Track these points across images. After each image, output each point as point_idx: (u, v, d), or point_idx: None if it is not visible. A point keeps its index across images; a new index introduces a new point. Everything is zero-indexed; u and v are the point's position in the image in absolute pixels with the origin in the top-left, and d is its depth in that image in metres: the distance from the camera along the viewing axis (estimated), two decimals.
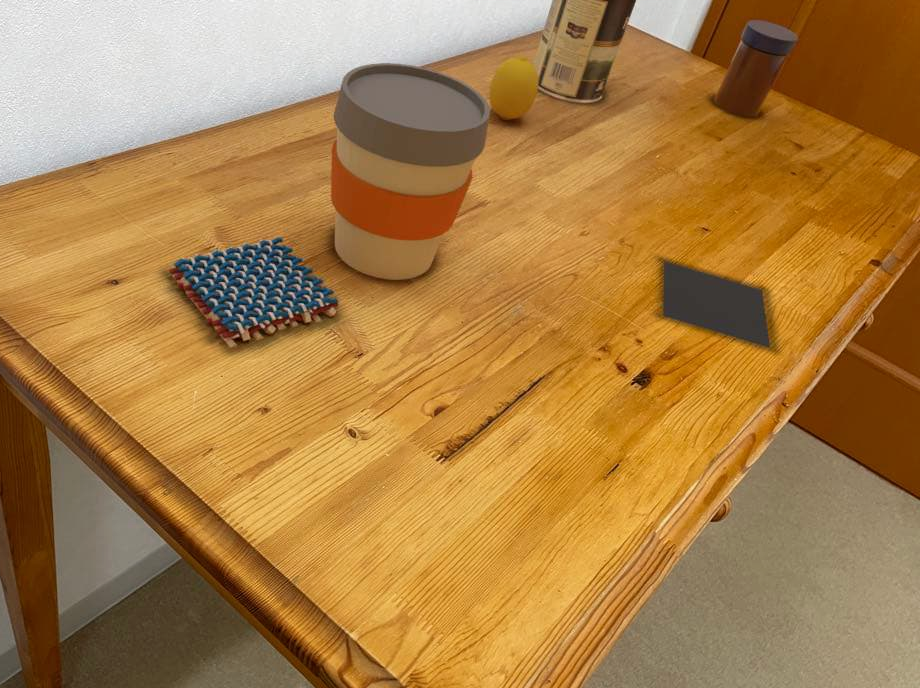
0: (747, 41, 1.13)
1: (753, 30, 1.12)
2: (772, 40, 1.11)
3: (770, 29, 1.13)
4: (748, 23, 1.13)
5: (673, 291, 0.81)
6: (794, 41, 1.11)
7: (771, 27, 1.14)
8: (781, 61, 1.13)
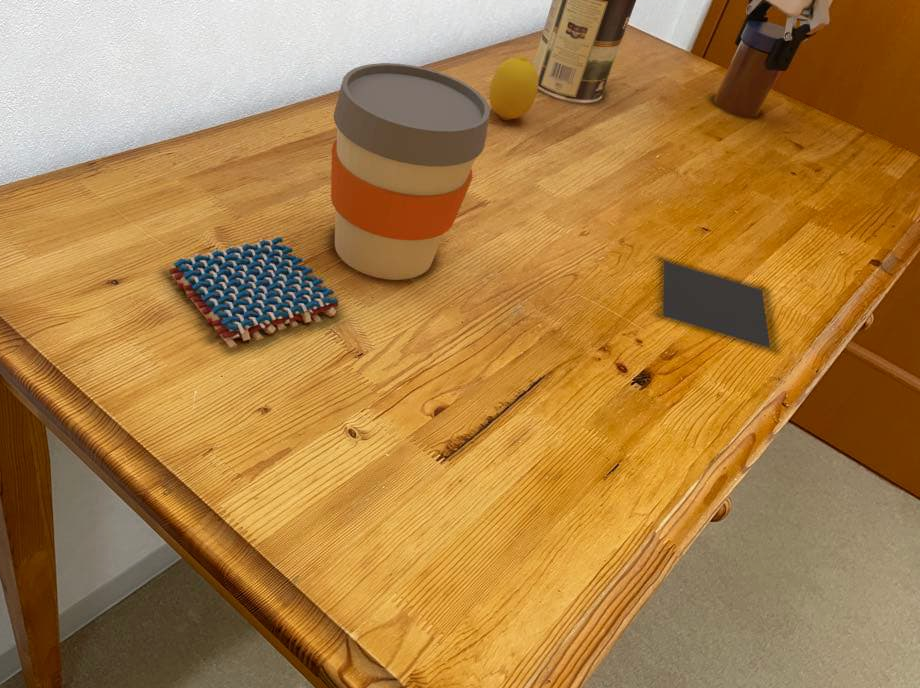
0: (747, 41, 1.13)
1: (753, 30, 1.12)
2: (772, 40, 1.11)
3: (770, 29, 1.13)
4: (748, 23, 1.13)
5: (673, 291, 0.81)
6: None
7: (771, 27, 1.14)
8: None
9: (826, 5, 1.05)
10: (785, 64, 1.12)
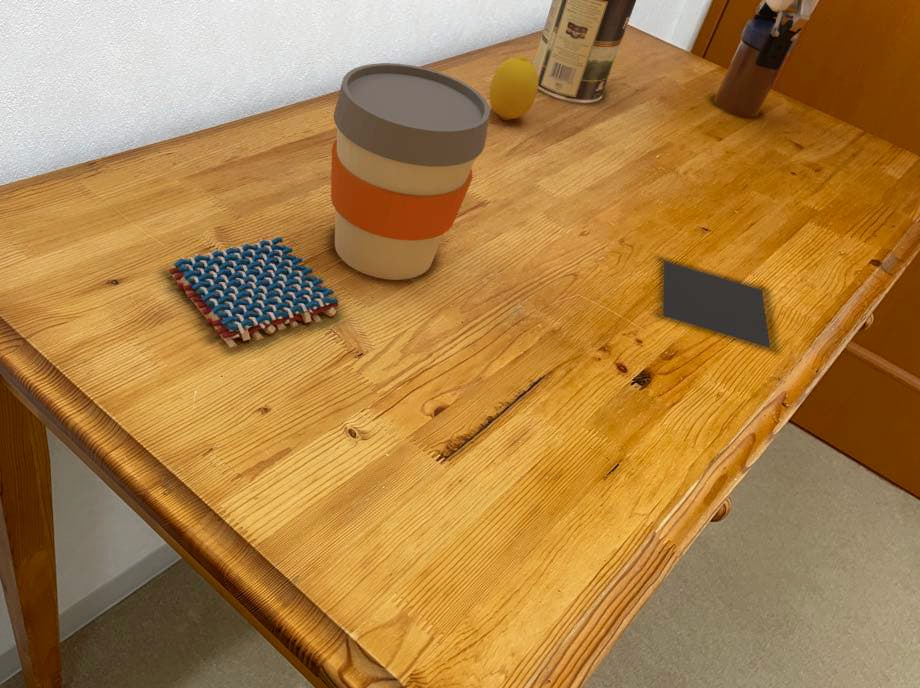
0: None
1: None
2: None
3: None
4: (796, 37, 1.12)
5: (673, 291, 0.81)
6: None
7: (770, 30, 1.12)
8: None
9: None
10: None
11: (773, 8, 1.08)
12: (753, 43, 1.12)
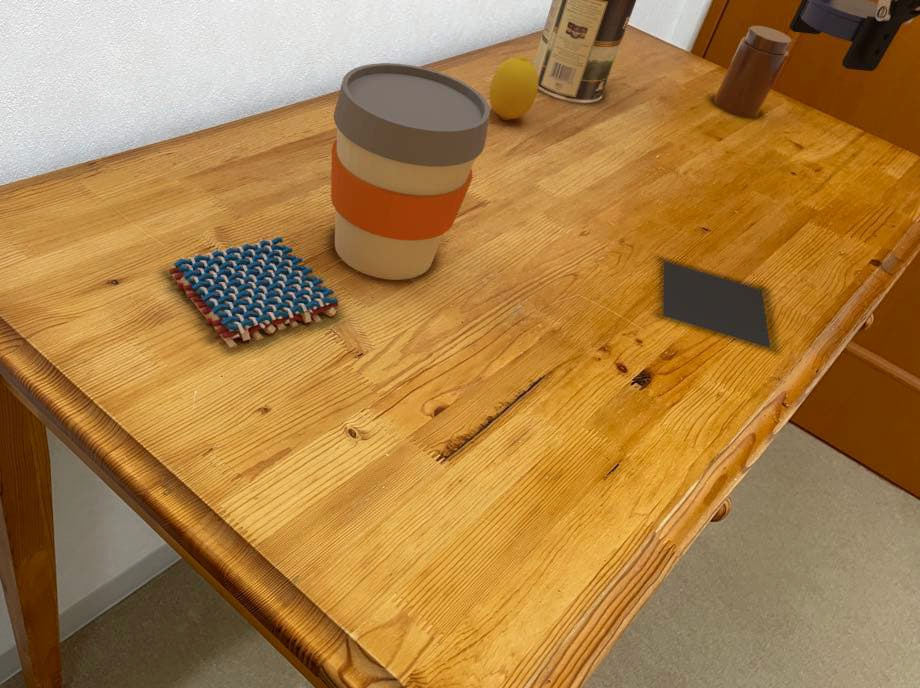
0: None
1: None
2: None
3: (856, 5, 0.70)
4: None
5: (673, 291, 0.81)
6: None
7: (855, 9, 0.69)
8: (781, 61, 1.13)
9: None
10: None
11: None
12: (836, 33, 0.69)
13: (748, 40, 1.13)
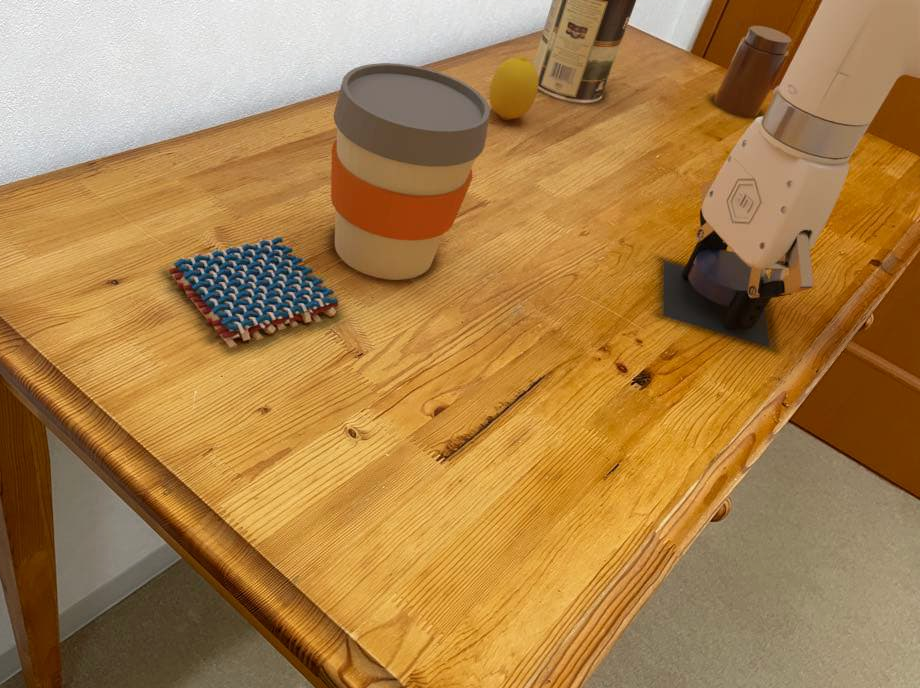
0: None
1: None
2: None
3: (735, 270, 0.78)
4: (767, 280, 0.78)
5: (673, 291, 0.81)
6: (701, 252, 0.80)
7: (733, 276, 0.77)
8: (781, 61, 1.13)
9: None
10: None
11: (750, 265, 0.73)
12: (716, 299, 0.77)
13: (748, 40, 1.13)
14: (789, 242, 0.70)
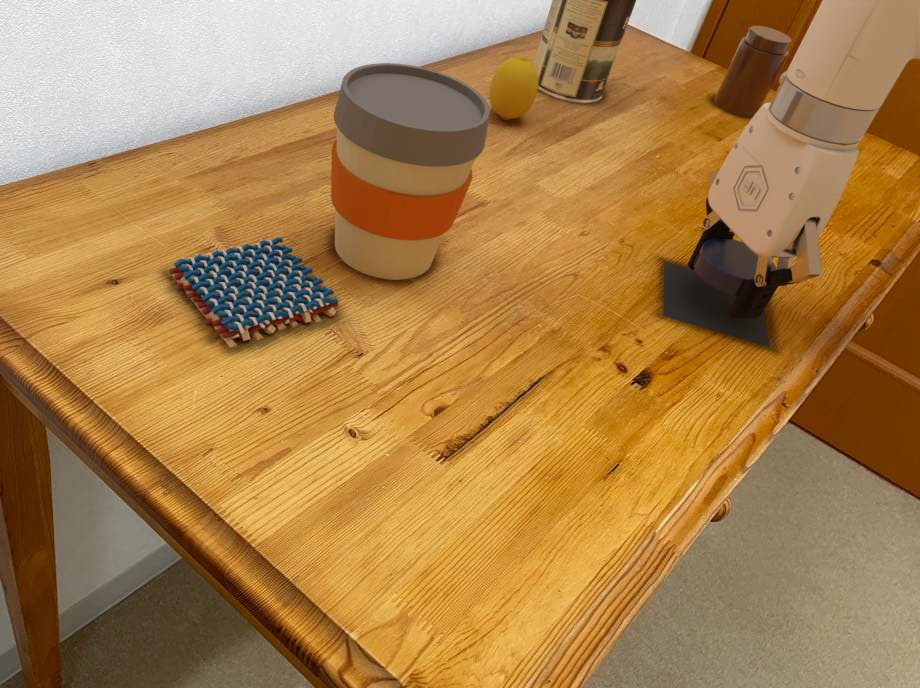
0: None
1: None
2: None
3: (742, 259, 0.77)
4: (774, 268, 0.77)
5: (673, 291, 0.81)
6: (707, 241, 0.79)
7: (740, 265, 0.77)
8: (781, 61, 1.13)
9: None
10: None
11: (757, 253, 0.72)
12: (722, 289, 0.76)
13: (748, 40, 1.13)
14: (797, 229, 0.69)
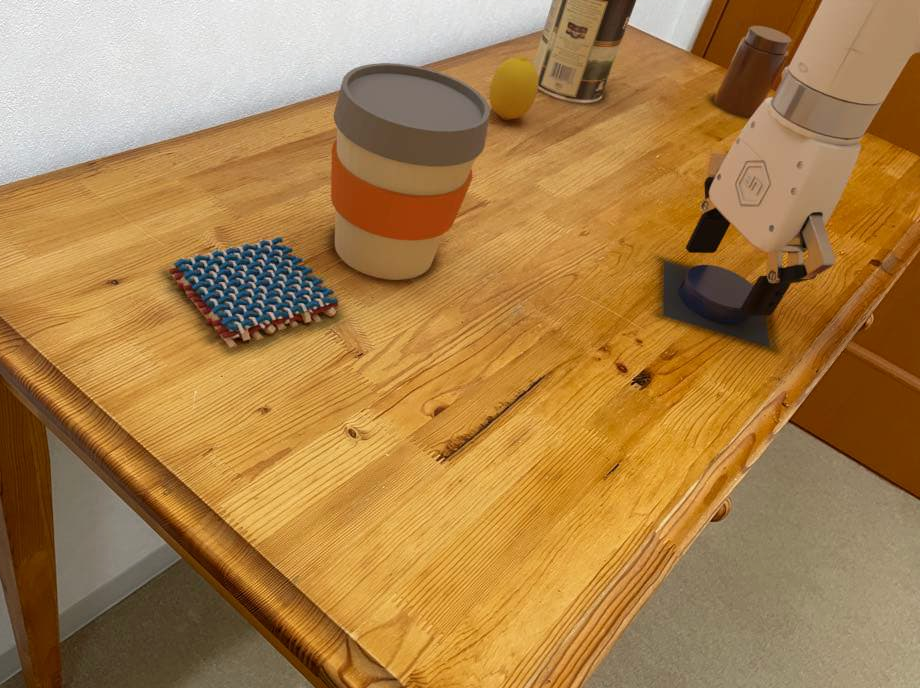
0: None
1: (749, 283, 0.81)
2: None
3: (725, 287, 0.79)
4: None
5: (673, 291, 0.81)
6: None
7: (724, 292, 0.79)
8: (781, 61, 1.13)
9: None
10: None
11: (759, 248, 0.71)
12: (706, 315, 0.78)
13: (748, 40, 1.13)
14: (799, 224, 0.69)
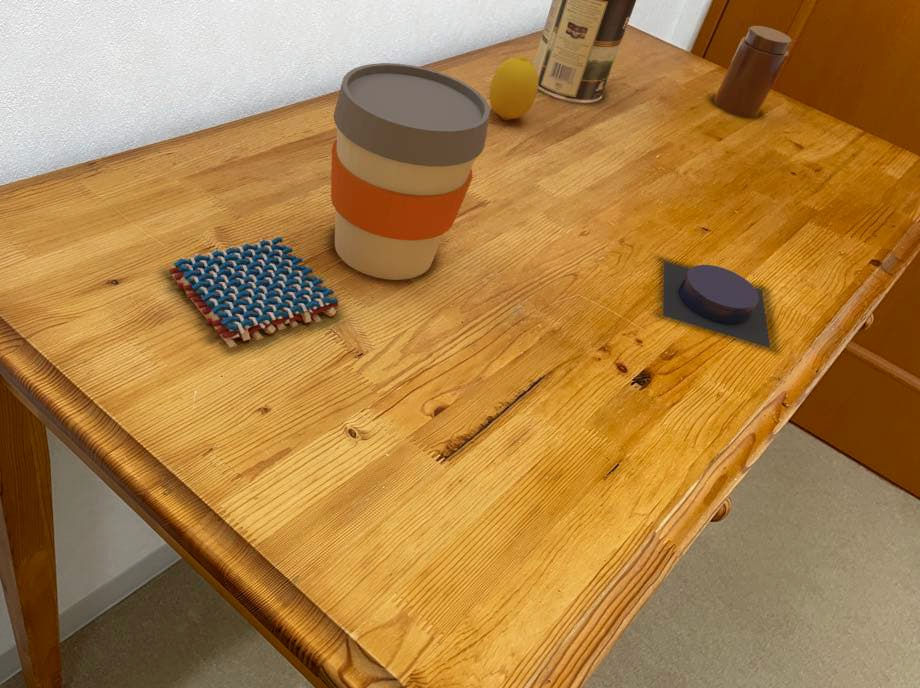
0: None
1: (749, 283, 0.81)
2: None
3: (725, 287, 0.79)
4: (757, 296, 0.79)
5: (673, 291, 0.81)
6: None
7: (724, 292, 0.79)
8: (781, 61, 1.13)
9: None
10: None
11: None
12: (706, 315, 0.78)
13: (748, 40, 1.13)
14: None
